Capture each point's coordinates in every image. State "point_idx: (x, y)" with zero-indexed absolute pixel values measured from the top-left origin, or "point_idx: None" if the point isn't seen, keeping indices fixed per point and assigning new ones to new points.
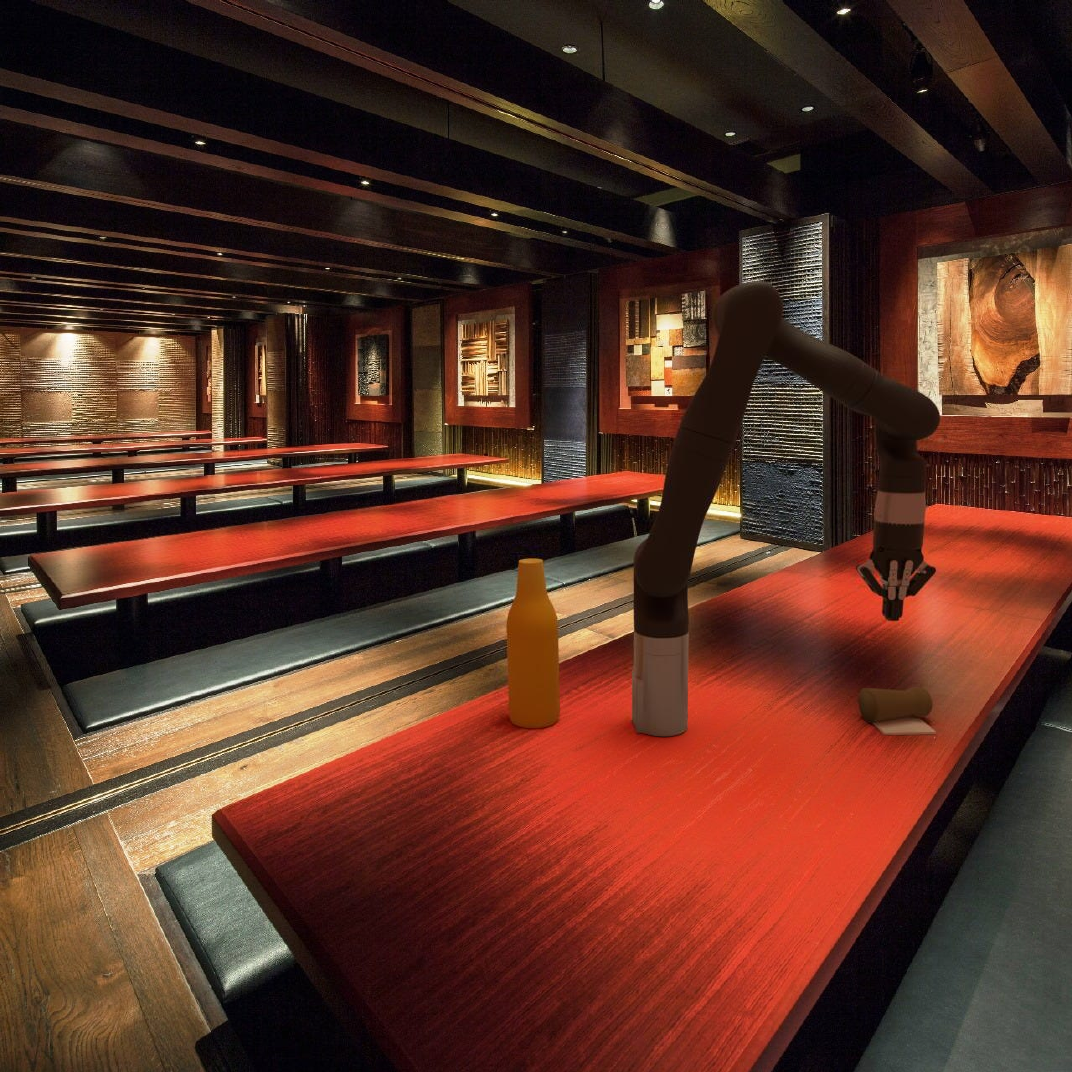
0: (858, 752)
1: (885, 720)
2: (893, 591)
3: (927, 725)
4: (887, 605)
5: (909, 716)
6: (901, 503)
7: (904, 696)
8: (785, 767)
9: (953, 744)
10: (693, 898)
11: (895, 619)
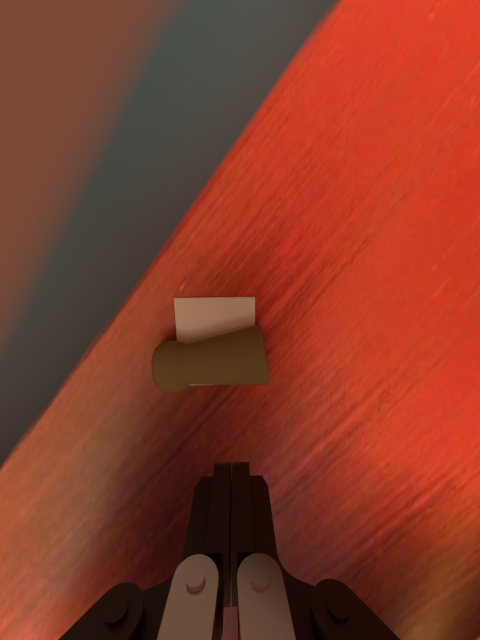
0: (321, 236)
1: None
2: (255, 622)
3: (176, 321)
4: (266, 528)
5: None
6: None
7: (202, 355)
8: (455, 186)
9: (163, 260)
10: None
11: (228, 464)
